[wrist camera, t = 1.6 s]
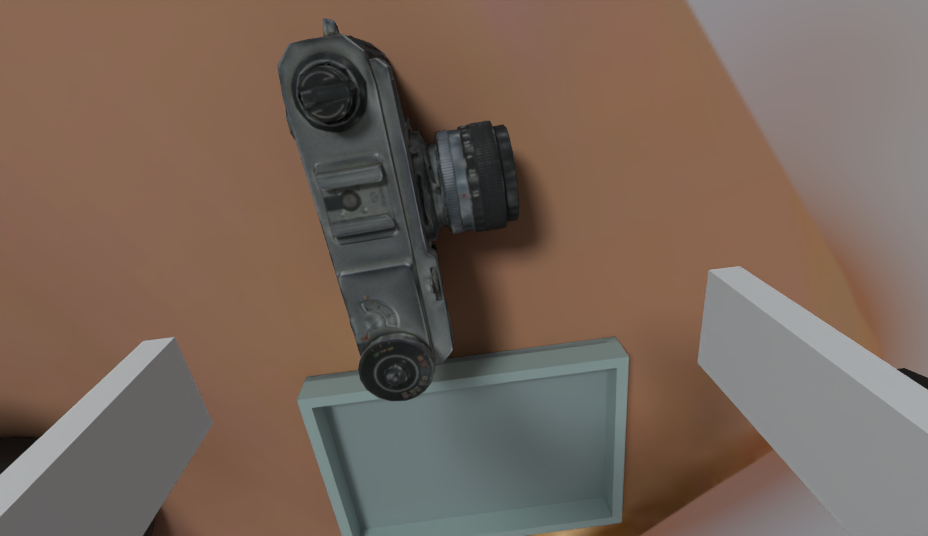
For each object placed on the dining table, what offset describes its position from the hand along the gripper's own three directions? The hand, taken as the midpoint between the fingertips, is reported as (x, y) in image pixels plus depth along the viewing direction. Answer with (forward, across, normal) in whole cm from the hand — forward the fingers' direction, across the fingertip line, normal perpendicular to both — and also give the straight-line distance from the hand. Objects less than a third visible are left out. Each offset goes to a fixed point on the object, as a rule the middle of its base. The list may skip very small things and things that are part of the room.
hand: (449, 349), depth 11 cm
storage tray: (+18, 0, +21) cm, 27 cm away
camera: (+18, +1, 0) cm, 18 cm away
